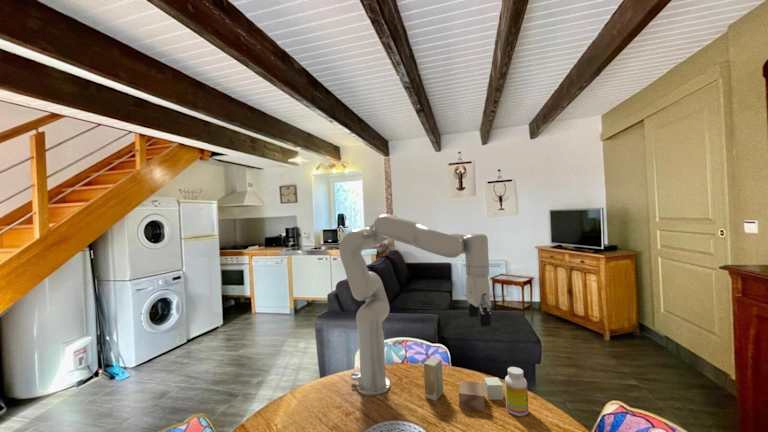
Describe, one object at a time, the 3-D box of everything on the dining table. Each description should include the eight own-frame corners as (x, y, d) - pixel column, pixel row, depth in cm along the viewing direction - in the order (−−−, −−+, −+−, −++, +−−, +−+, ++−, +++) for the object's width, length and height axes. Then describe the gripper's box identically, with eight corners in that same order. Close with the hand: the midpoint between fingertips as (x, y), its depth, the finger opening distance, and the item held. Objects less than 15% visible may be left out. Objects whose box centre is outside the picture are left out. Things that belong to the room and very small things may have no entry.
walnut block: (459, 408, 102) (458, 393, 102) (460, 394, 109) (460, 380, 109) (484, 411, 99) (484, 396, 99) (484, 397, 107) (483, 383, 107)
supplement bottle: (531, 417, 95) (529, 376, 95) (508, 416, 96) (506, 374, 96) (525, 404, 101) (523, 365, 102) (504, 403, 103) (502, 364, 103)
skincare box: (432, 389, 113) (431, 355, 113) (443, 392, 111) (442, 358, 111) (424, 397, 108) (423, 362, 108) (435, 401, 105) (434, 365, 105)
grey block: (488, 399, 105) (487, 385, 105) (484, 391, 110) (483, 377, 110) (503, 399, 105) (502, 385, 105) (498, 391, 110) (498, 377, 110)
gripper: (458, 267, 113) (459, 314, 113) (476, 275, 96) (479, 331, 95) (477, 266, 113) (479, 312, 113) (500, 274, 96) (502, 329, 96)
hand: (479, 321), depth 104 cm, fingers open, 9 cm apart
